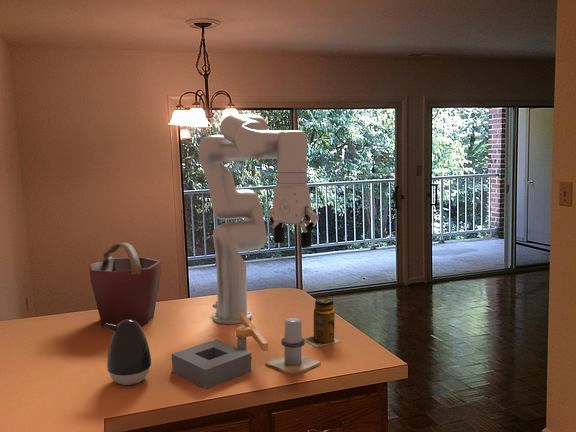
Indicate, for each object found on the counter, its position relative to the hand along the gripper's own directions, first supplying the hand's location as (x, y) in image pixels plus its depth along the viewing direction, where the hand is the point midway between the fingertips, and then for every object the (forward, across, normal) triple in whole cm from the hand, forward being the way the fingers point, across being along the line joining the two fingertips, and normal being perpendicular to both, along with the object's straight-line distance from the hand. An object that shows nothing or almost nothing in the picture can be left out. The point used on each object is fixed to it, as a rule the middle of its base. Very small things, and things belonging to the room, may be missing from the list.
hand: (292, 244), depth 138 cm
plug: (+30, +4, -4) cm, 30 cm away
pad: (+30, +4, -4) cm, 31 cm away
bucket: (+31, -60, -15) cm, 69 cm away
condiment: (+31, -2, +14) cm, 34 cm away
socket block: (+30, -8, -18) cm, 36 cm away
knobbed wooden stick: (+24, -8, -10) cm, 27 cm away
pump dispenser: (+31, -18, -38) cm, 52 cm away
